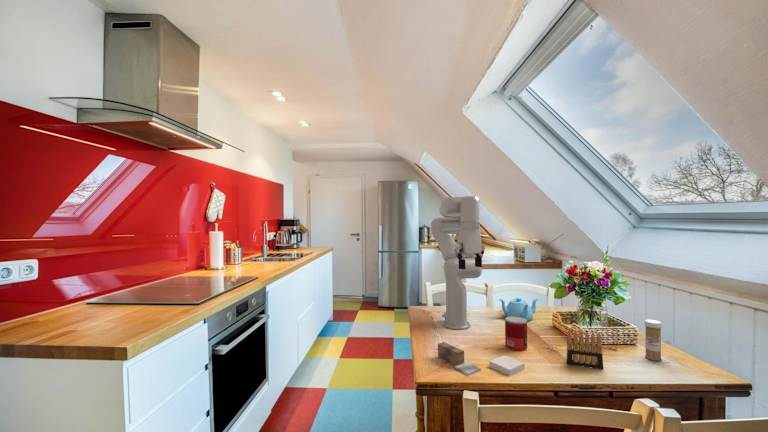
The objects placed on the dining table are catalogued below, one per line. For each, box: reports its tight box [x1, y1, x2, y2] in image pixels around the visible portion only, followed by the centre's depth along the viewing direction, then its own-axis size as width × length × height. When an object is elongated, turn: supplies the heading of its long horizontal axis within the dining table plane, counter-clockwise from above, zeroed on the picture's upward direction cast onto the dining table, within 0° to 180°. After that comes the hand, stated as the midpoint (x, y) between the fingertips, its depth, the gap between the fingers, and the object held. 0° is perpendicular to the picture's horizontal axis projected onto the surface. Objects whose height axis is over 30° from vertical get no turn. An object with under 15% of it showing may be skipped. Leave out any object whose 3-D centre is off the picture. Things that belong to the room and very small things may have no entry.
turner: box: [437, 341, 482, 377], centre depth 116 cm, size 16×6×5 cm, turn 33°
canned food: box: [504, 316, 528, 352], centre depth 130 cm, size 8×8×11 cm
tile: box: [488, 355, 525, 376], centre depth 113 cm, size 2×8×8 cm
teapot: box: [498, 297, 539, 322], centre depth 167 cm, size 15×15×10 cm
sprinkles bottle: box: [644, 319, 662, 362], centre depth 119 cm, size 5×5×14 cm
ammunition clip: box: [566, 329, 604, 370], centre depth 114 cm, size 11×2×12 cm, turn 69°
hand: (470, 267), depth 136 cm, fingers open, 9 cm apart
